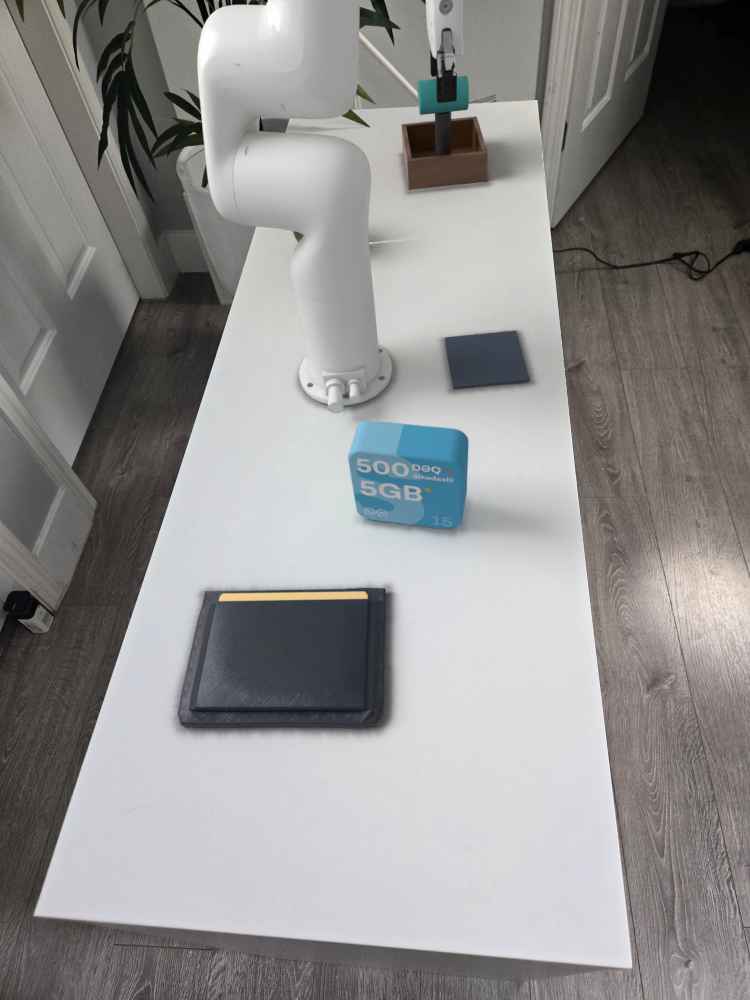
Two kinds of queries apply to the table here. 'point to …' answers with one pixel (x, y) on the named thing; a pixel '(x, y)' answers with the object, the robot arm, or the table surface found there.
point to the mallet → (442, 110)
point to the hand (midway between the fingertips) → (443, 88)
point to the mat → (486, 360)
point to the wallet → (287, 659)
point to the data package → (409, 473)
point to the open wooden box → (445, 169)
